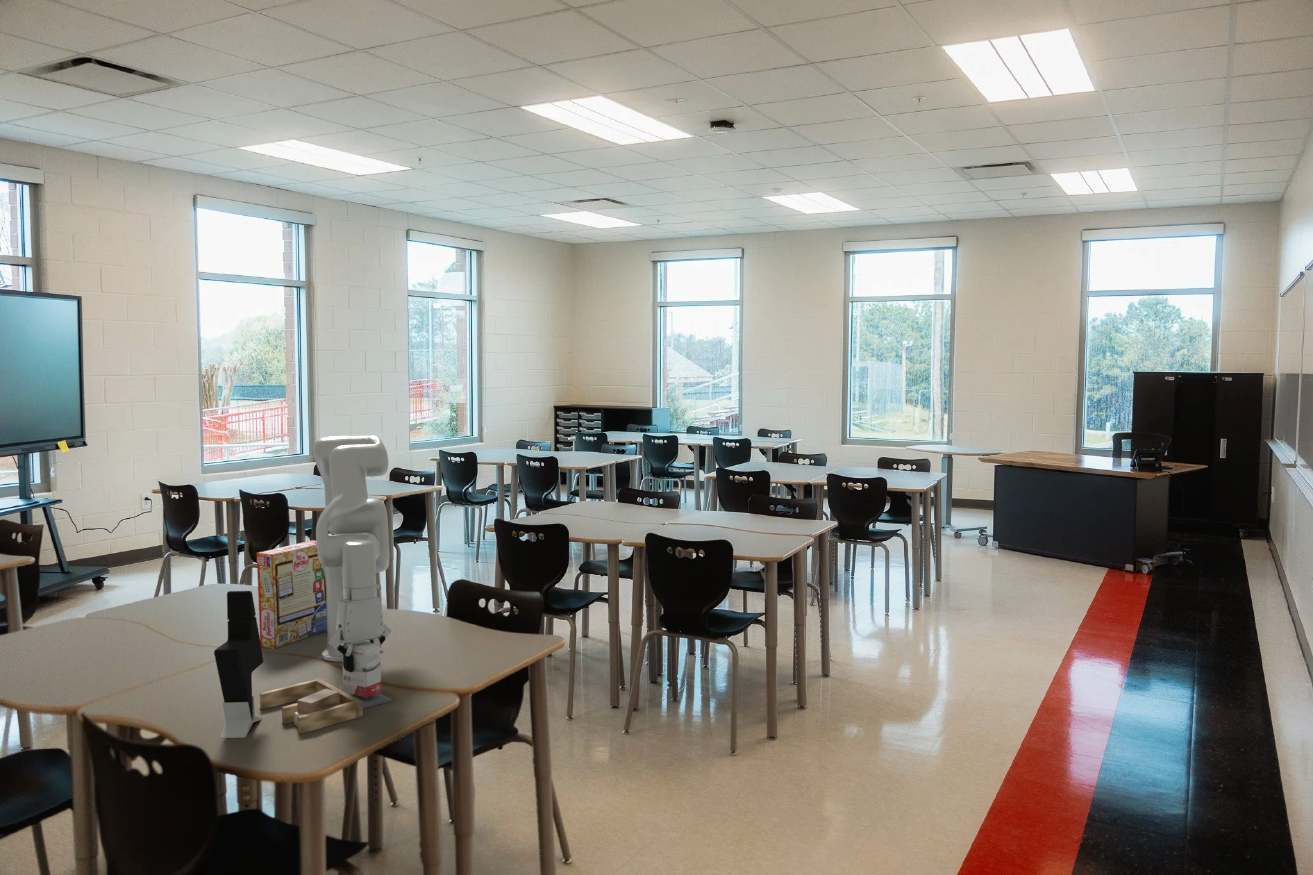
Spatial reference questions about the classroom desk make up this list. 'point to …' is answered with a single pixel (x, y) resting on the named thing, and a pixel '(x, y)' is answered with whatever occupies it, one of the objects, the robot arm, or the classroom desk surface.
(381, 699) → the mat
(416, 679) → the classroom desk surface
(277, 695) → the rack
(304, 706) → the offcut
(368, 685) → the ink box
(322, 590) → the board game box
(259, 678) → the classroom desk surface
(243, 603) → the award
